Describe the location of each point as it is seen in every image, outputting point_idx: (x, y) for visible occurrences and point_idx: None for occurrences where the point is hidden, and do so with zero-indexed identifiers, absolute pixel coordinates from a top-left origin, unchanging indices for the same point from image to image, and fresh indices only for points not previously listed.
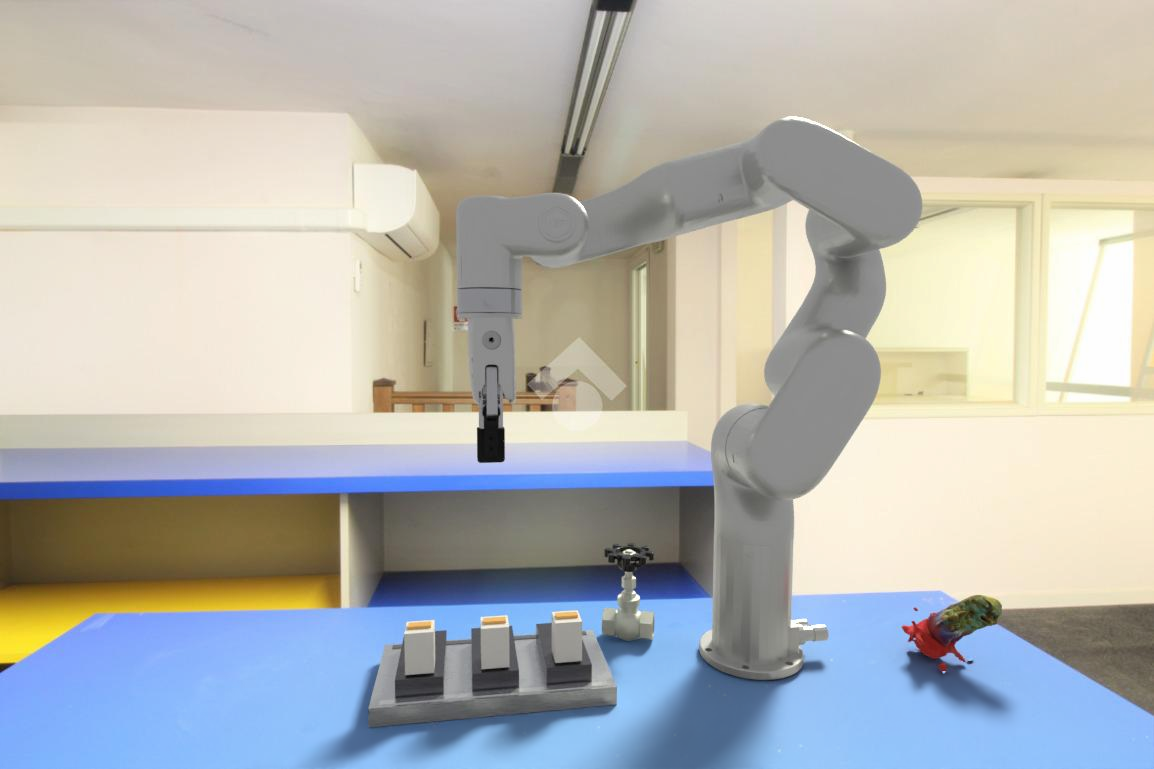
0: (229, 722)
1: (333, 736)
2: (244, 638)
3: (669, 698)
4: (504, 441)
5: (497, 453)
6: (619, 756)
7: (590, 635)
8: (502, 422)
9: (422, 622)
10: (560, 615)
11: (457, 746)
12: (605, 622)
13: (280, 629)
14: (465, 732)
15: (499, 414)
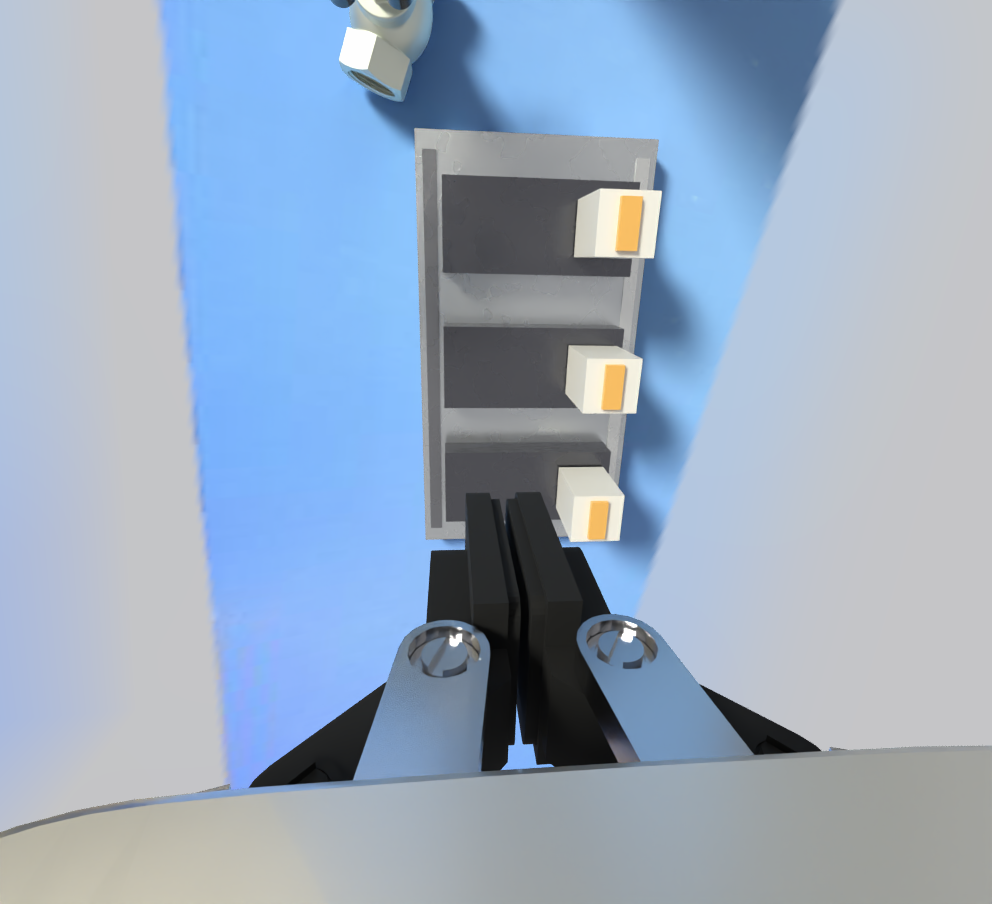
0: None
1: (611, 557)
2: (327, 719)
3: (653, 25)
4: (559, 546)
5: (581, 550)
6: (772, 183)
7: (441, 141)
8: (677, 659)
9: (593, 517)
10: (633, 240)
11: (676, 413)
12: (403, 85)
13: (298, 685)
14: (649, 403)
15: (800, 750)
